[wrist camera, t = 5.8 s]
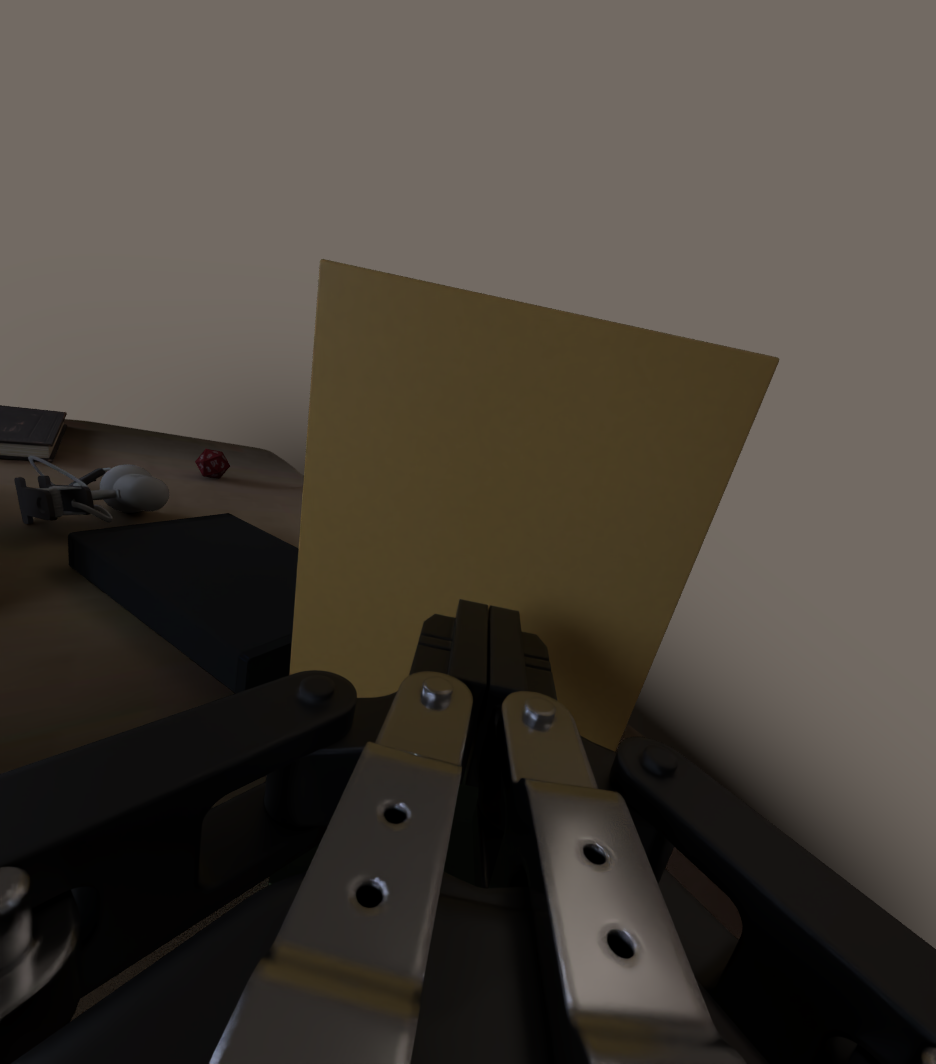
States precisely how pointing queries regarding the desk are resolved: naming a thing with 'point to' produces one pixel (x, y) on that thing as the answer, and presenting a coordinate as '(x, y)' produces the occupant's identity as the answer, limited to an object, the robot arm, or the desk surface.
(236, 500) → the desk surface
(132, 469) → the clip-on lamp
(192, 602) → the external hard drive
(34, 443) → the hardcover book
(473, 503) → the tin lid
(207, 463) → the dice
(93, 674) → the desk surface
